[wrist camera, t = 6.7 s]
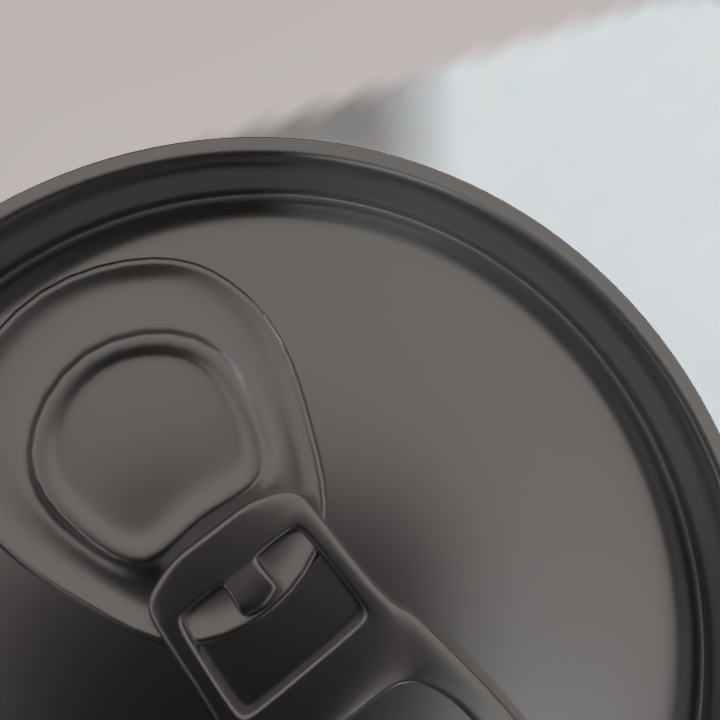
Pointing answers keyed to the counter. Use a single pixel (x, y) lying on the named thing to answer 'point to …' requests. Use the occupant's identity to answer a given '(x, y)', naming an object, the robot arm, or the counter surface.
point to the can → (338, 454)
